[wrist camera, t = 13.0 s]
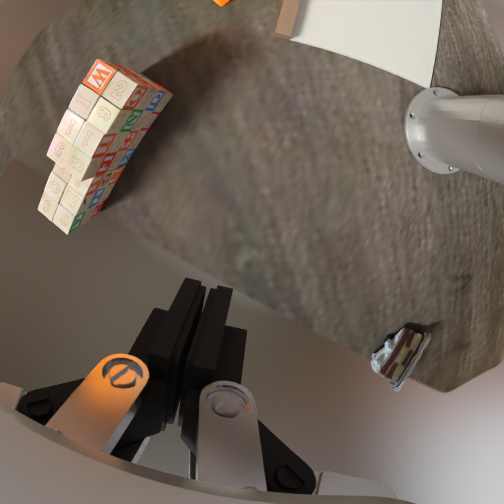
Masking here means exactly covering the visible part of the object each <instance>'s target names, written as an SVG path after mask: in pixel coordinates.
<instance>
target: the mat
mask: <svg viewBox="0 0 504 504" xmlns="http://www.w3.org/2000/svg"><path fill="white" fill-rule="evenodd" d="M441 10H442V0H284V1H283V4H282V8H281V12H280V15H279V19H278V23H277V27H276V30H275V37H278V38H283V39H287V40H291V41H295V42H299V43H303V44H307V45H311V46H314V47H318V48H322V49H325V50H328V51H332V52H335V53H338V54H341V55H344V56H347V57H350V58H353V59H356V60H359V61H362V62H365V63H367V64H370V65H373V66H375V67H378V68H380V69H383V70H385V71H388V72H390V73H393V74H395V75H397V76H400V77H402V78H404V79H407V80H409V81H411V82H413V83H416V84H418V85H420V86H422V87H424V88H426V89H427V88H430V83H431V78H432V73H433V67H434V62H435V55H436V49H437V42H438V35H439V28H440V19H441Z"/></svg>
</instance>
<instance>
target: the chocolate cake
mask: <svg viewBox="0 0 504 504" xmlns="http://www.w3.org/2000/svg"><path fill="white" fill-rule="evenodd" d="M430 338H431V333H430V332H427V333H426V332H424V333H422V334H419V333H416V332H415V331H413V330H410V329H409V328H407V327H404V328H403V329H401V330H400V332H398V334H397V335H395V338H393V339H392V340H391V339H384V340H383V342H384V344H385V346H384V347H383V348H382V349H381V350H379V351H378V352H377V353H373V354H372V360H371V365H372V368H373V370H374V371H375V372H376V373H377V374H379V375H381V376H383V377H384V378H386V379H389V380H390V384H391V387H392V389H394V390H395V392H396V394H397V393H398V392H399V391H400V389H401V387H402V386H403V384H404V383H405V381H406V380H407V379H408V377H409V375H410V374H411V372H412V370H413V368H414V367H415V365H416V363H417V361H418V360H419V359H420V357H421V355H422V353H423V351H424V349H425V348H426V347H427V345H428V343H429V341H430Z"/></svg>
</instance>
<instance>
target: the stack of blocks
mask: <svg viewBox="0 0 504 504" xmlns="http://www.w3.org/2000/svg"><path fill="white" fill-rule="evenodd" d="M172 96H173V94H172V93H171V92H169V91H168V90H166V89H165V88H163V87H162V86H160V85H159V84H157V83H155V82H154V81H152V80H151V79H149V78H148V77H146V76H144V75H143V74H142V73H139V72H136V71H133V70H130V69H128V68H125V67H122V66H120V65H117V64H114V63H109V62H106V61H103V60H100V59H97V60H96V62H95V63H94V65H93V66H92V68H91V70H90V71H89V73H88V74H87V76H86V78H85V79H84V81H83V84H81V85H80V86H79V88H78V90H77V91H76V93H75V95H74V97H73V99H72V101H71V103H70V105H69V108H68V109H67V110H66V112H65V114H64V116H63V118H62V120H61V123H60V125H59V127H58V129H57V133H56V134H55V136H54V138H53V141H52V143H51V145H50V148H49V150H48V153H47V156H48V157H49V158H51V159H52V160H53V161H54V162H56V164H55V166H54V168H53V171H52V172H51V174H50V177H49V179H48V182H47V184H46V187H45V189H44V193H43V196H42V199H41V201H40V204H39V207H38V210H39V211H40V212H41V213H43V214H44V215H45V216H46V217H47V218H48V219H49V220H50V221H53V223H54V224H56V225H57V226H58V227H59V228H60V229H61V230H63V231H64V232H65V233H66V234H69V233H71V232H72V231H74V230H75V229H77V228H78V227H79V226H80V225H82V224H83V223H85V222H86V221H88V220H89V219H91V218H92V217H94V216H96V215H97V214H98V213H99V212H100V210H101V208H102V206H103V204H104V202H105V200H106V198H107V197H108V196H109V194H110V192H111V190H112V188H113V187H114V185H115V182H116V181H117V180H118V178H119V176H120V175H121V173H122V171H123V170H124V168H125V165H126V164H127V162H128V160H129V159H130V157H131V155H132V154H133V152H134V151H135V149H136V147H137V146H138V144H139V143H140V141H141V139H142V138H143V136H144V135H145V133H146V132H147V130H149V128H150V127H151V125H152V124H153V122H154V121H155V119H156V118H157V116H158V115H159V114H160V112H161V111H162V110H163V108H164V107H165V106H166V104H167V103H168V101H169V100H170V99H171V97H172Z"/></svg>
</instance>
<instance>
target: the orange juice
mask: <svg viewBox="0 0 504 504" xmlns="http://www.w3.org/2000/svg"><path fill="white" fill-rule="evenodd" d="M213 1H215V2H216V3H217V4H219V5H220V6H221V7H222V6H223V5H224V4H225V3H227V2H228V1H229V0H213Z"/></svg>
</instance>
